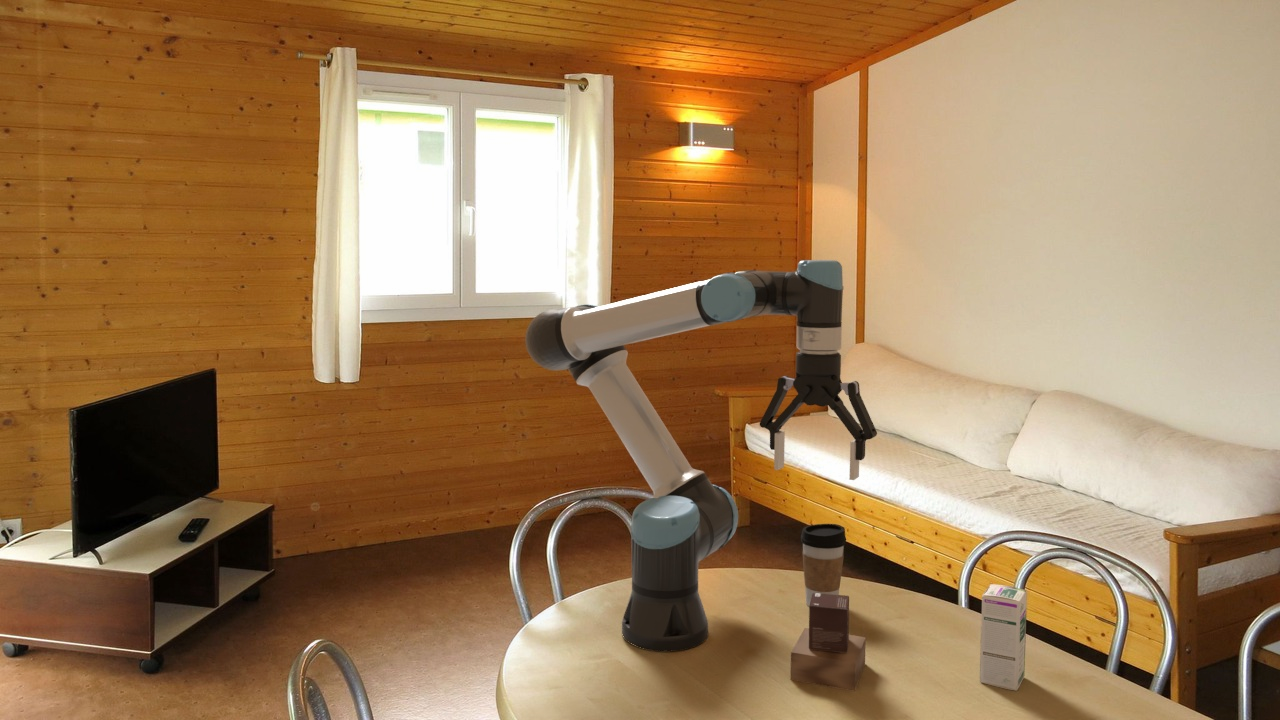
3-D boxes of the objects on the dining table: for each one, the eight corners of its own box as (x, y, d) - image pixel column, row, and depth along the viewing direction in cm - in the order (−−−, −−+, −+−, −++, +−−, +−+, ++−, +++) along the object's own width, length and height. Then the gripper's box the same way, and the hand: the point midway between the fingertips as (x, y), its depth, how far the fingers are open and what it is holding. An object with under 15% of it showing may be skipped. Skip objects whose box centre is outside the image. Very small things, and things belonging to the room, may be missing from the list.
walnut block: (790, 682, 146) (790, 652, 146) (804, 656, 156) (804, 627, 155) (854, 693, 143) (855, 663, 142) (864, 666, 152) (865, 637, 151)
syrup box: (1017, 692, 142) (1022, 601, 140) (977, 682, 145) (981, 593, 143) (1024, 677, 147) (1029, 589, 145) (985, 668, 150) (989, 582, 148)
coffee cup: (848, 613, 172) (850, 534, 171) (803, 612, 173) (804, 534, 171) (839, 596, 181) (841, 521, 179) (796, 595, 181) (797, 521, 179)
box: (847, 654, 145) (848, 609, 144) (808, 650, 146) (808, 605, 146) (849, 638, 151) (849, 595, 150) (811, 635, 152) (812, 591, 151)
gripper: (742, 349, 161) (740, 468, 164) (884, 358, 148) (880, 487, 151) (759, 345, 167) (758, 460, 170) (897, 353, 155) (893, 477, 157)
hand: (815, 473), depth 161 cm, fingers open, 13 cm apart
